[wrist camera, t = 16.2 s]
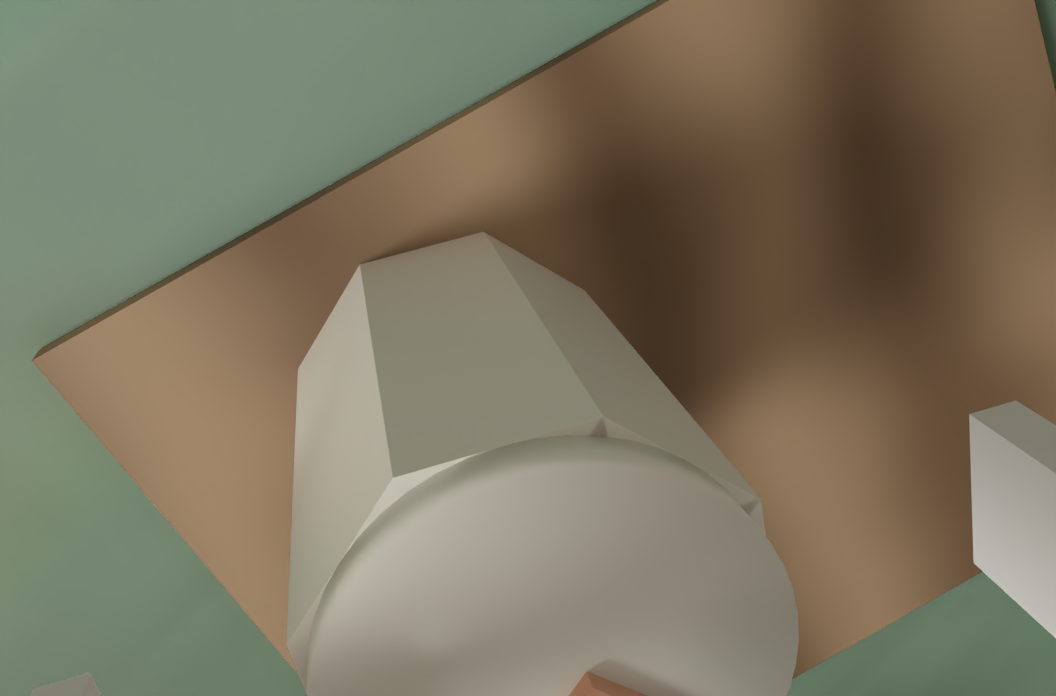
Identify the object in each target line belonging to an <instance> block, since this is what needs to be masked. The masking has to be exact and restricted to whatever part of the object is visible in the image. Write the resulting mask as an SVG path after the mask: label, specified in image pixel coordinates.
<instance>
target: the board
mask: <svg viewBox="0 0 1056 696" xmlns="http://www.w3.org/2000/svg"><path fill="white" fill-rule="evenodd" d="M480 232H485V233H487V234H488V235H490V236H492V237H493V238H495V239H497V240H499V241H500V242H502V243H504V244H506V245H507V246H509V247H511V248H512V249H514V250H516V251H518V252H519V253H521V254H523V255H525V256H526V257H528V258H530V259H531V260H533V261H535V262H537V263H538V264H540V265H542V266H544V267H545V268H547V269H549V270H550V271H552V272H554V273H556V274H557V275H559V276H561V277H563V278H564V279H566V280H568V281H569V282H571V283H573V284H575V285H576V286H578V287H580V288H582V289H583V290H585V291H586V293H587V294H588V295H589V296H590V297H591V298H592V300H593V301H594V302H595V303H596V304H597V306H598V307H599V308H600V309H601V310H602V311H603V313H604V314H605V315H606V316H607V317H608V319H609V320H610V321H611V322H612V323H613V324H614V326H615V327H616V328H617V329H618V330H619V332H620V333H621V334H622V335H623V336H624V337H625V339H626V340H627V341H628V342H629V343H630V345H631V346H632V347H633V348H634V349H635V350H636V352H637V353H638V354H639V355H640V356H641V358H642V359H643V360H644V361H645V362H646V363H647V365H648V366H649V367H650V368H651V369H652V371H653V372H654V373H655V374H656V375H657V376H658V378H659V379H660V380H661V381H662V382H663V384H664V385H665V386H666V387H667V388H668V389H669V391H670V392H671V393H672V394H673V395H674V397H675V398H676V399H677V400H678V401H679V402H680V404H681V405H682V406H683V407H684V408H685V410H686V411H687V412H688V413H689V414H690V415H691V417H692V418H693V419H694V420H695V421H696V423H697V424H698V425H699V426H700V427H701V428H702V430H703V431H704V432H705V433H706V434H707V436H708V437H709V438H710V439H711V440H712V441H713V443H714V444H715V445H716V446H717V447H718V449H719V450H720V451H721V452H722V453H723V454H724V456H725V457H726V458H727V459H728V460H729V462H730V463H731V464H732V465H733V466H734V467H735V469H736V470H737V471H738V472H739V473H740V475H741V476H742V477H743V478H744V479H745V480H746V482H747V483H748V484H749V485H750V486H751V488H752V489H753V490H754V491H755V492H756V493H757V495H758V496H759V497H760V498H761V502H762V510H763V518H764V526H765V534H766V538H767V539H768V540H769V541H770V543H771V544H772V546H773V547H774V549H775V551H776V552H777V554H778V556H779V558H780V559H781V561H782V563H783V564H784V566H785V569H786V572H787V574H788V577H789V580H790V582H791V585H792V587H793V591H794V596H795V601H796V606H797V611H798V626H799V643H798V651H797V660H796V666H795V670H794V674H793V678H795V677H797V676H798V675H800V674H802V673H804V672H806V671H807V670H809V669H811V668H813V667H814V666H816V665H818V664H820V663H821V662H823V661H825V660H827V659H829V658H830V657H832V656H834V655H836V654H837V653H839V652H841V651H843V650H844V649H846V648H848V647H850V646H852V645H853V644H855V643H857V642H859V641H860V640H862V639H864V638H866V637H867V636H869V635H871V634H873V633H874V632H876V631H878V630H880V629H882V628H883V627H885V626H887V625H889V624H890V623H892V622H894V621H896V620H897V619H899V618H901V617H903V616H905V615H906V614H908V613H910V612H912V611H913V610H915V609H917V608H919V607H920V606H922V605H924V604H926V603H928V602H929V601H931V600H933V599H935V598H936V597H938V596H940V595H942V594H943V593H945V592H947V591H949V590H951V589H952V588H954V587H956V586H958V585H959V584H961V583H963V582H965V581H966V580H968V579H970V578H972V577H974V576H975V575H977V574H979V573H981V572H982V570H981V569H980V568H978V567H977V566H976V565H975V564H974V561H973V528H972V494H971V461H970V427H969V414H971V413H975V412H978V411H982V410H985V409H989V408H992V407H995V406H999V405H1002V404H1006V403H1009V402H1012V401H1018V402H1019V403H1021V404H1022V405H1024V406H1026V407H1027V408H1029V409H1031V410H1032V411H1034V412H1035V413H1037V414H1039V415H1040V416H1042V417H1043V418H1045V419H1047V420H1048V421H1050V422H1052V423H1053V424H1055V425H1056V90H1055V86H1054V82H1053V78H1052V73H1051V69H1050V65H1049V60H1048V56H1047V52H1046V48H1045V43H1044V39H1043V35H1042V30H1041V26H1040V22H1039V18H1038V13H1037V9H1036V5H1035V0H658V1H656V2H654V3H652V4H651V5H649V6H647V7H645V8H644V9H642V10H640V11H638V12H637V13H635V14H633V15H631V16H629V17H628V18H626V19H624V20H622V21H621V22H619V23H617V24H615V25H613V26H612V27H610V28H608V29H606V30H605V31H603V32H601V33H599V34H598V35H596V36H594V37H592V38H590V39H589V40H587V41H585V42H583V43H582V44H580V45H578V46H576V47H575V48H573V49H571V50H569V51H567V52H566V53H564V54H562V55H560V56H559V57H557V58H555V59H553V60H552V61H550V62H548V63H546V64H544V65H543V66H541V67H539V68H537V69H536V70H534V71H532V72H530V73H529V74H527V75H525V76H523V77H521V78H520V79H518V80H516V81H514V82H513V83H511V84H509V85H507V86H506V87H504V88H502V89H500V90H498V91H497V92H495V93H493V94H491V95H490V96H488V97H486V98H484V99H482V100H481V101H479V102H477V103H475V104H474V105H472V106H470V107H468V108H467V109H465V110H463V111H461V112H459V113H458V114H456V115H454V116H452V117H451V118H449V119H447V120H445V121H444V122H442V123H440V124H438V125H436V126H435V127H433V128H431V129H429V130H428V131H426V132H424V133H422V134H421V135H419V136H417V137H415V138H413V139H412V140H410V141H408V142H406V143H405V144H403V145H401V146H399V147H398V148H396V149H394V150H392V151H390V152H389V153H387V154H385V155H383V156H382V157H380V158H378V159H376V160H375V161H373V162H371V163H369V164H367V165H366V166H364V167H362V168H360V169H359V170H357V171H355V172H353V173H351V174H350V175H348V176H346V177H344V178H343V179H341V180H339V181H337V182H336V183H334V184H332V185H330V186H328V187H327V188H325V189H323V190H321V191H320V192H318V193H316V194H314V195H313V196H311V197H309V198H307V199H305V200H304V201H302V202H300V203H298V204H297V205H295V206H293V207H291V208H290V209H288V210H286V211H284V212H282V213H281V214H279V215H277V216H275V217H274V218H272V219H270V220H268V221H267V222H265V223H263V224H261V225H259V226H258V227H256V228H254V229H252V230H251V231H249V232H247V233H245V234H243V235H242V236H240V237H238V238H236V239H235V240H233V241H231V242H229V243H228V244H226V245H224V246H222V247H220V248H219V249H217V250H215V251H213V252H212V253H210V254H208V255H206V256H205V257H203V258H201V259H199V260H197V261H196V262H194V263H192V264H190V265H189V266H187V267H185V268H183V269H182V270H180V271H178V272H176V273H174V274H173V275H171V276H169V277H167V278H166V279H164V280H162V281H160V282H159V283H157V284H155V285H153V286H151V287H150V288H148V289H146V290H144V291H143V292H141V293H139V294H137V295H136V296H134V297H132V298H130V299H128V300H127V301H125V302H123V303H121V304H120V305H118V306H116V307H114V308H112V309H111V310H109V311H107V312H105V313H104V314H102V315H100V316H98V317H97V318H95V319H93V320H91V321H89V322H88V323H86V324H84V325H82V326H81V327H79V328H77V329H75V330H74V331H72V332H70V333H68V334H66V335H65V336H63V337H61V338H59V339H58V340H56V341H54V342H52V343H51V344H49V345H47V346H45V347H43V348H42V349H40V350H39V351H38V353H37V354H36V355H35V357H34V358H33V360H32V362H33V363H34V364H35V365H36V366H37V367H38V369H39V370H40V371H41V372H42V373H43V375H44V376H45V377H46V378H47V379H48V380H49V382H50V383H51V384H52V385H53V386H54V387H55V389H56V390H57V391H58V392H59V393H60V395H61V396H62V397H63V398H64V399H65V400H66V402H67V403H68V404H69V405H70V406H71V407H72V409H73V410H74V411H75V412H76V413H77V415H78V416H79V417H80V418H81V419H82V420H83V422H84V423H85V424H86V425H87V426H88V427H89V429H90V430H91V431H92V432H93V433H94V435H95V436H96V437H97V438H98V439H99V440H100V442H101V443H102V444H103V445H104V446H105V447H106V449H107V450H108V451H109V452H110V453H111V454H112V456H113V457H114V458H115V459H116V460H117V462H118V463H119V464H120V465H121V466H122V467H123V469H124V470H125V471H126V472H127V473H128V474H129V476H130V477H131V478H132V479H133V480H134V482H135V483H136V484H137V485H138V486H139V487H140V489H141V490H142V491H143V492H144V493H145V494H146V496H147V497H148V498H149V499H150V500H151V502H152V503H153V504H154V505H155V506H156V507H157V509H158V510H159V511H160V512H161V513H162V514H163V516H164V517H165V518H166V519H167V520H168V522H169V523H170V524H171V525H172V526H173V527H174V529H175V530H176V531H177V532H178V533H179V534H180V536H181V537H182V538H183V539H184V540H185V541H186V543H187V544H188V545H189V546H190V547H191V549H192V550H193V551H194V552H195V553H196V554H197V556H198V557H199V558H200V559H201V560H202V561H203V563H204V564H205V565H206V566H207V567H208V569H209V570H210V571H211V572H212V573H213V574H214V576H215V577H216V578H217V579H218V580H219V581H220V583H221V584H222V585H223V586H224V587H225V589H226V590H227V591H228V592H229V593H230V594H231V596H232V597H233V598H234V599H235V600H236V601H237V603H238V604H239V605H240V606H241V607H242V609H243V610H244V611H245V612H246V613H247V614H248V616H249V617H250V618H251V619H252V620H253V621H254V623H255V624H256V625H257V626H258V627H259V628H260V630H261V631H262V632H263V633H264V634H265V636H266V637H267V638H268V639H269V640H270V641H271V643H272V644H273V645H274V646H275V647H276V648H277V650H278V651H279V652H280V653H281V654H282V656H283V657H284V658H285V659H286V660H287V661H288V663H289V664H290V665H291V666H292V667H293V668H294V670H295V671H296V672H297V670H296V667H295V665H294V662H293V660H292V657H291V655H290V652H289V650H288V647H287V646H286V645H287V621H288V597H289V572H290V548H291V524H292V499H293V475H294V451H295V427H296V402H297V378H298V368H299V366H300V365H301V363H302V361H303V360H304V358H305V356H306V355H307V353H308V351H309V350H310V348H311V346H312V344H313V343H314V341H315V339H316V338H317V336H318V334H319V333H320V331H321V329H322V328H323V326H324V324H325V322H326V321H327V319H328V317H329V316H330V314H331V312H332V311H333V309H334V307H335V305H336V304H337V302H338V300H339V299H340V297H341V295H342V294H343V292H344V290H345V289H346V287H347V285H348V283H349V282H350V280H351V278H352V277H353V275H354V273H355V272H356V270H357V268H358V267H359V265H360V264H363V263H367V262H371V261H374V260H378V259H382V258H386V257H390V256H393V255H397V254H401V253H405V252H408V251H412V250H416V249H420V248H423V247H427V246H431V245H435V244H439V243H442V242H446V241H450V240H454V239H457V238H461V237H465V236H469V235H473V234H476V233H480ZM297 673H298V672H297ZM793 678H792V679H793Z"/></svg>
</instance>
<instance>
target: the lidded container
mask: <svg viewBox="0 0 1056 696" xmlns="http://www.w3.org/2000/svg"><path fill="white" fill-rule="evenodd" d="M798 643H799V626H798V611H797V606H796V601H795V596H794V591H793V587H792V585H791V582H790V580H789V577H788V574H787V572H786V569H785V566H784V564H783V563H782V561H781V559H780V558H779V556H778V554H777V552H776V551H775V549H774V547H773V546H772V544H771V543H770V541H769V540H768V539H767V538H766V534H765V526H764V518H763V510H762V502H761V498H760V497H759V496H758V495H757V493H756V492H755V491H754V490H753V489H752V488H751V486H750V485H749V484H748V483H747V482H746V480H745V479H744V478H743V477H742V476H741V475H740V473H739V472H738V471H737V470H736V469H735V467H734V466H733V465H732V464H731V463H730V462H729V460H728V459H727V458H726V457H725V456H724V454H723V453H722V452H721V451H720V450H719V449H718V447H717V446H716V445H715V444H714V443H713V441H712V440H711V439H710V438H709V437H708V436H707V434H706V433H705V432H704V431H703V430H702V428H701V427H700V426H699V425H698V424H697V423H696V421H695V420H694V419H693V418H692V417H691V415H690V414H689V413H688V412H687V411H686V410H685V408H684V407H683V406H682V405H681V404H680V402H679V401H678V400H677V399H676V398H675V397H674V395H673V394H672V393H671V392H670V391H669V389H668V388H667V387H666V386H665V385H664V384H663V382H662V381H661V380H660V379H659V378H658V376H657V375H656V374H655V373H654V372H653V371H652V369H651V368H650V367H649V366H648V365H647V363H646V362H645V361H644V360H643V359H642V358H641V356H640V355H639V354H638V353H637V352H636V350H635V349H634V348H633V347H632V346H631V345H630V343H629V342H628V341H627V340H626V339H625V337H624V336H623V335H622V334H621V333H620V332H619V330H618V329H617V328H616V327H615V326H614V324H613V323H612V322H611V321H610V320H609V319H608V317H607V316H606V315H605V314H604V313H603V311H602V310H601V309H600V308H599V307H598V306H597V304H596V303H595V302H594V301H593V300H592V298H591V297H590V296H589V295H588V294H587V293H586V291H585V290H583V289H582V288H580V287H578V286H576V285H575V284H573V283H571V282H569V281H568V280H566V279H564V278H563V277H561V276H559V275H557V274H556V273H554V272H552V271H550V270H549V269H547V268H545V267H544V266H542V265H540V264H538V263H537V262H535V261H533V260H531V259H530V258H528V257H526V256H525V255H523V254H521V253H519V252H518V251H516V250H514V249H512V248H511V247H509V246H507V245H506V244H504V243H502V242H500V241H499V240H497V239H495V238H493V237H492V236H490V235H488V234H487V233H485V232H480V233H476V234H473V235H469V236H465V237H461V238H457V239H454V240H450V241H446V242H442V243H439V244H435V245H431V246H427V247H423V248H420V249H416V250H412V251H408V252H405V253H401V254H397V255H393V256H390V257H386V258H382V259H378V260H374V261H371V262H367V263H363V264H360V265H359V267H358V268H357V270H356V272H355V273H354V275H353V277H352V278H351V280H350V282H349V283H348V285H347V287H346V289H345V290H344V292H343V294H342V295H341V297H340V299H339V300H338V302H337V304H336V305H335V307H334V309H333V311H332V312H331V314H330V316H329V317H328V319H327V321H326V322H325V324H324V326H323V328H322V329H321V331H320V333H319V334H318V336H317V338H316V339H315V341H314V343H313V344H312V346H311V348H310V350H309V351H308V353H307V355H306V356H305V358H304V360H303V361H302V363H301V365H300V366H299V368H298V378H297V402H296V427H295V451H294V475H293V499H292V524H291V548H290V572H289V597H288V621H287V645H286V646H287V647H288V650H289V652H290V655H291V657H292V660H293V662H294V665H295V667H296V670H297V672H298V674H299V677H300V679H301V682H302V684H303V687H304V689H305V692H306V694H307V696H787V694H788V692H789V689H790V685H791V682H792V678H793V674H794V670H795V666H796V660H797V651H798Z"/></svg>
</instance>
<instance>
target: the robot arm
mask: <svg viewBox="0 0 1056 696" xmlns="http://www.w3.org/2000/svg"><path fill="white" fill-rule="evenodd" d="M969 427H970V461H971V494H972V528H973V561H974V564H975V565H976V566H977V567H978V568H980V569H981V570H982V571H983V572H984V573H985V574H986V575H987V576H988V577H989V578H990V579H992V580H993V581H994V582H995V583H996V584H997V585H998V586H999V587H1000V588H1001V589H1003V590H1004V591H1005V592H1006V593H1007V594H1008V595H1009V596H1010V597H1011V598H1012V599H1013V600H1015V601H1016V602H1017V603H1018V604H1019V605H1020V606H1021V607H1022V608H1023V609H1024V610H1025V611H1027V612H1028V613H1029V614H1030V615H1031V616H1032V617H1033V618H1034V619H1035V620H1036V621H1038V622H1039V623H1040V624H1041V625H1042V626H1043V627H1044V628H1045V629H1046V630H1047V631H1048V632H1050V633H1051V634H1052V635H1053V636H1054V637H1055V638H1056V425H1055V424H1053V423H1052V422H1050V421H1048V420H1047V419H1045V418H1043V417H1042V416H1040V415H1039V414H1037V413H1035V412H1034V411H1032V410H1031V409H1029V408H1027V407H1026V406H1024V405H1022V404H1021V403H1019V402H1018V401H1012V402H1009V403H1006V404H1002V405H999V406H995V407H992V408H989V409H985V410H982V411H978V412H975V413H971V414H969ZM30 696H102V695H101V694H100V692H99V690H98V688H97V686H96V684H95V682H94V680H93V678H92V676H91V674H90V672H89V673H86V674H82V675H79V676H75V677H72V678H69V679H65V680H62V681H58V682H55V683H52V684H48V685H45V686H41V687H38V688H35V689H33V691H32V693H31V695H30Z"/></svg>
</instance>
